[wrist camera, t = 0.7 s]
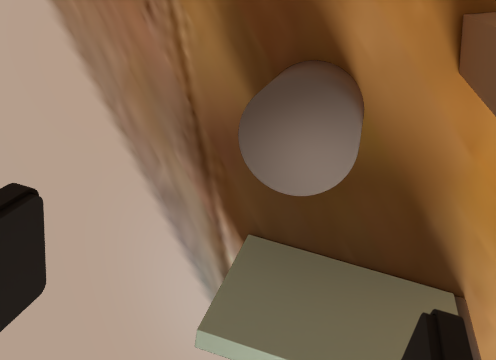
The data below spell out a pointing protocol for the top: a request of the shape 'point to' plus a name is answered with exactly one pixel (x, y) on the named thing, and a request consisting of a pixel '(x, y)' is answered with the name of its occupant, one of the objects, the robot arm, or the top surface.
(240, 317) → the door
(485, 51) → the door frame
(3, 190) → the robot arm
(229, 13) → the top surface
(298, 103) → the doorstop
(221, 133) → the top surface
